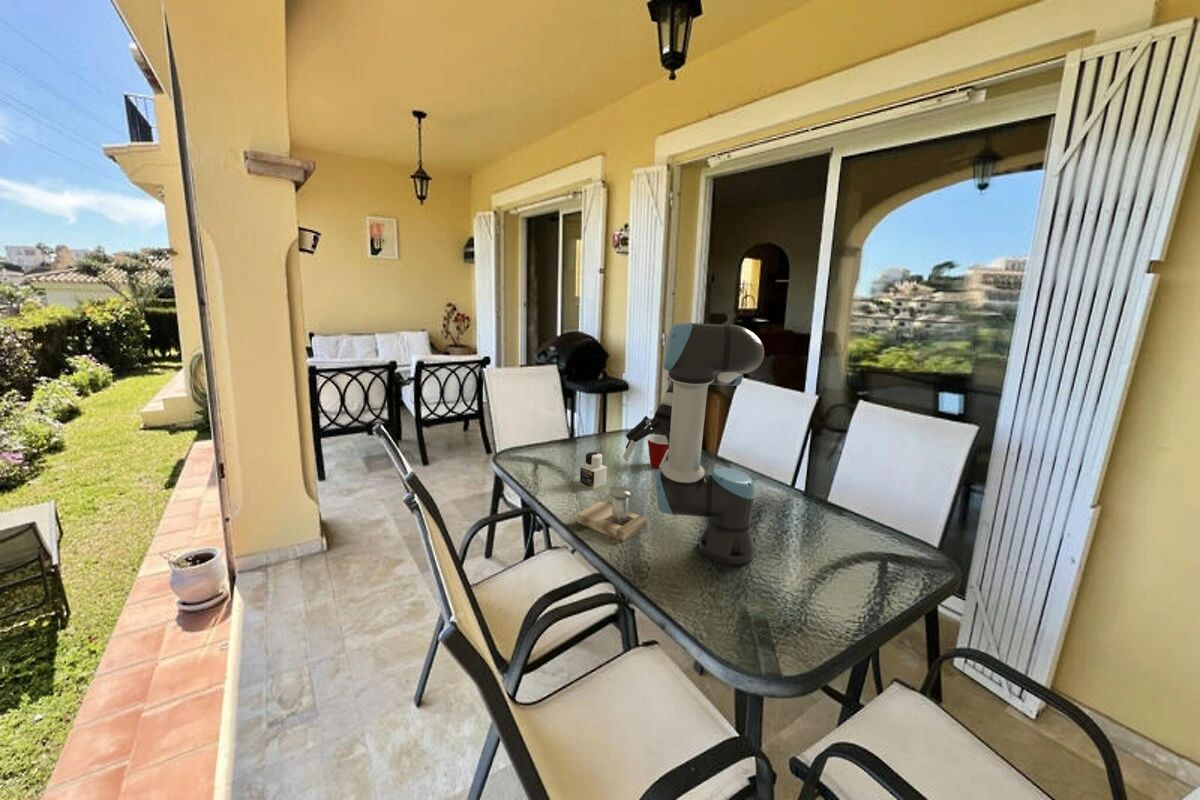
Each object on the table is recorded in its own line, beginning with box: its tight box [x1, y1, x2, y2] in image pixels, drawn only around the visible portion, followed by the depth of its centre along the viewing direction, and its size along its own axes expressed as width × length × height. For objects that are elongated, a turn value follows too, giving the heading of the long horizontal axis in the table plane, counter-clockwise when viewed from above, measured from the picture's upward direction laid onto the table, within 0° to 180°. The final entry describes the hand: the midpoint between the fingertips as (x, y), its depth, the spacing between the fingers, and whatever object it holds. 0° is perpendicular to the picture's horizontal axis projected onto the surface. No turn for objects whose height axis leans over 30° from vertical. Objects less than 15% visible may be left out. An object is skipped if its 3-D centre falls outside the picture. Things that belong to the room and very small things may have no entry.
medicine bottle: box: [579, 451, 608, 490], centre depth 184 cm, size 7×7×12 cm
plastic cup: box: [646, 434, 669, 469], centre depth 205 cm, size 11×11×12 cm
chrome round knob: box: [609, 486, 632, 526], centre depth 152 cm, size 6×6×12 cm
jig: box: [576, 501, 648, 543], centre depth 154 cm, size 18×12×3 cm, turn 52°
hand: (642, 464), depth 158 cm, fingers open, 13 cm apart
